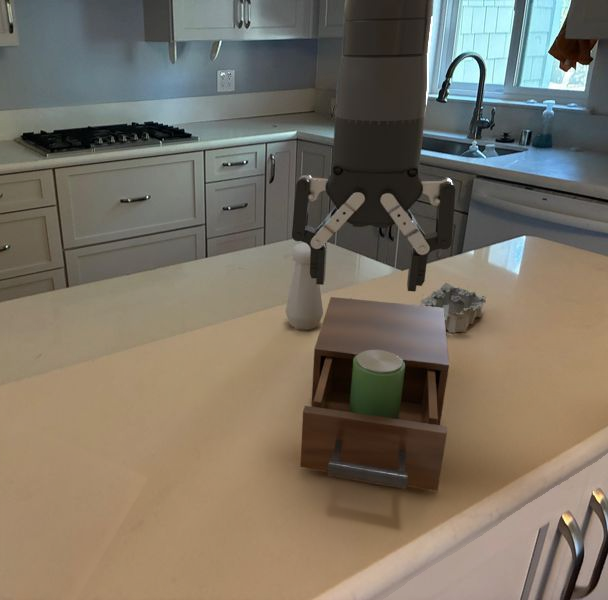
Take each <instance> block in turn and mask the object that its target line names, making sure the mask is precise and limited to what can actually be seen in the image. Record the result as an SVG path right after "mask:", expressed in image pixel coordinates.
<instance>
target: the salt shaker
mask: <svg viewBox="0 0 608 600" xmlns="http://www.w3.org/2000/svg"><path fill="white" fill-rule="evenodd" d="M310 254H311V249H310V246H309V245H308V244H306V243H304V242H301V243H297V244H295V245H294V246H293V247H292V252H291V258H292V261H294V262H295V265H294V269H293V274H292V279H291V284H290V289H289V293H288V298H287V302H286V307H285V315H286V317H287V319H288V322H289V325H290V326H291V327H292V328H295V329H297V330H307V331H310V330H312V329H314V328H317V327H318V325H319V323H320V321H321V319H322V318H323V315H324V305H323V300H322V293H321V285H319V284H316V279H315V278H311V275H310Z"/></svg>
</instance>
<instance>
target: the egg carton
mask: <svg viewBox="0 0 608 600" xmlns="http://www.w3.org/2000/svg"><path fill="white" fill-rule="evenodd" d="M486 300H487V297H486V296H485V295H482V296H478V295H477V294H476V292H475V291H469V290H468V289H464V288H461V287H459V286H458V287H455V286H453V285H451V284H450V283H447V282H445V283H444V284H443V285H442V286H441V287H440V288H439V289H437V290H434V291H433V292H432V293H431V294H430V295H428V296H427V297H426V298H422V299H421V300H420V306H430V307H440V308H444V316H445V327H446V330H447V332H448V333H453V334H454V333H464V332H467V331H468V327H469V325H473V324H474V322H475V319H476V318H480V317H482V308H483V306H484V305H485V304H486Z"/></svg>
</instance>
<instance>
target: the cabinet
mask: <svg viewBox="0 0 608 600" xmlns="http://www.w3.org/2000/svg"><path fill="white" fill-rule="evenodd" d="M447 338H448V337H447V328H446V327H445V316H444V308H440V307H430V306H421V304H420V305H419V304H408V303H397V302H389V301H388V302H387V301H376V300H367V299H366V300H365V299H355V298H345V297H335V296H331V297H330V298H329V302H328V305H327V308H326V310H325V314H324V317H323V321H322V324H321V326H320V331H319V333H318V336H317V340H316V342H315V345H314V349H313V367H312V368H313V369H312V386H311V387H312V388H311V403H310V404H311V405H310V406H311V407H313V404H314V398H315V395H316V391H317V387H318V384H319V380H320V376H321V373H322V369H323V365H324V362H325V358H326V356H328V357H336V358H344V359H352V360H354V357H355V356H356V355H358V354H359V353H361V352H364V351H367V350H383V351H387V352H390V353H393V354H395V355H397V356H398V357H399V358H401V359H402V360H403V362H404V363H405V366H409V367H417V368H425V369H434V370H435V377H436V395H437V414H438V421H437V425H441V422H442V415H443V408H444V401H445V395H446V389H447V383H448V375H449V369H450V359H449V349H448V339H447Z"/></svg>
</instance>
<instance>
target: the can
mask: <svg viewBox="0 0 608 600" xmlns="http://www.w3.org/2000/svg"><path fill="white" fill-rule="evenodd" d="M404 371H405V363H404V362H403V360H402V359H401V358H399V357H398V356H397V355H395V354H393V353H390V352H387V351H383V350H367V351H364V352H361V353H359V354H358V355H356V356H355V357H354V360H353V371H352V383H351V395H350V408H349V412H352V413H359V414H366V415H373V416H379V417H386V418H393V419H399V413H400V404H401V396H402V388H403V380H404Z"/></svg>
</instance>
